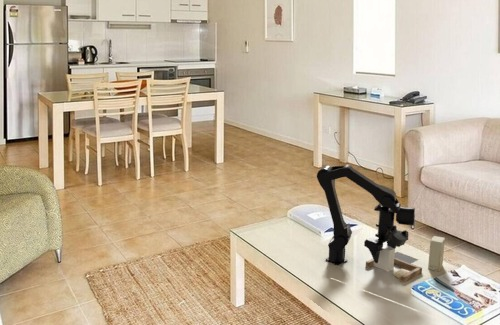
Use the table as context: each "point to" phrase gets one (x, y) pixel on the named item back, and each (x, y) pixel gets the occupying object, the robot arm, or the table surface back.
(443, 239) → the skincare box
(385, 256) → the off-white upright block
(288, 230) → the table surface
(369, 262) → the frame
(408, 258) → the felt pad
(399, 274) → the offcut slab upper
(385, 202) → the robot arm
